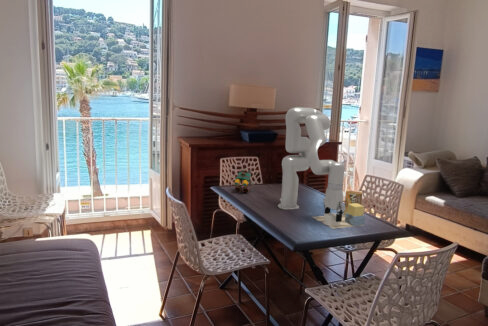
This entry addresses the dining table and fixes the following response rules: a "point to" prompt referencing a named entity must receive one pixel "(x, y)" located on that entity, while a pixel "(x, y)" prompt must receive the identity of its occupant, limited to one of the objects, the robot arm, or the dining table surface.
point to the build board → (342, 224)
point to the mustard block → (355, 209)
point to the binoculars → (245, 178)
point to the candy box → (352, 198)
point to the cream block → (330, 219)
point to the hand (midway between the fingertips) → (332, 218)
